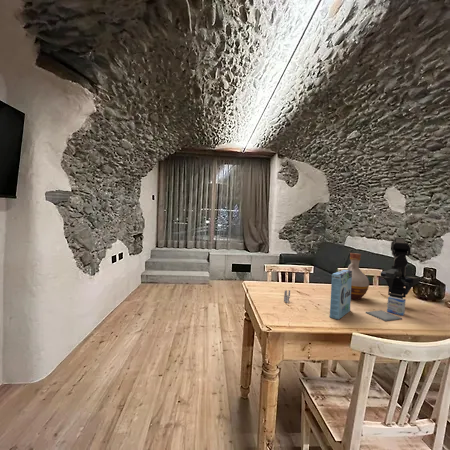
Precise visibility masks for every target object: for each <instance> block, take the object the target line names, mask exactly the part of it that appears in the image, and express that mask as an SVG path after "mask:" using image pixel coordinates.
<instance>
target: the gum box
mask: <svg viewBox="0 0 450 450" xmlns="http://www.w3.org/2000/svg"><path fill="white" fill-rule="evenodd" d="M351 282H352V271H349V270H347V269H342V270H340V271H336V272H334V273H331V285H330V286H331V287H330V289H331V290H330V303H329V305H330V306H329V307H330V308H329V318H331V319H335V320H340V319H342V317H344V316H345V315H347V314H348V313H349V312H351V304H352V303H351V301H352V299H351Z"/></svg>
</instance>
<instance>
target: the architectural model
mask: <svg viewBox="0 0 450 450" xmlns="http://www.w3.org/2000/svg"><path fill="white" fill-rule="evenodd" d="M283 293H284V296H283V302H285V304H286V303H290V299H291V290H284V292H283Z"/></svg>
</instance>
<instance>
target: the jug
mask: <svg viewBox="0 0 450 450" xmlns="http://www.w3.org/2000/svg"><path fill="white" fill-rule="evenodd" d="M349 254H350V256H349V260H350V264H348V267H347V269H346V270H349V271H352V282H351V301H352V300H354V301H359V300H361V299H362V298H363V297H364V296H365V295H366V294H367V293H368V290H369V286H370V281H369V278H368V276H367V275H366V274H365V273H364V272H363V271H362V270H361V268H360V261H361V260H362V258H361V257H362V253H355V252H349Z"/></svg>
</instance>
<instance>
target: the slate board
mask: <svg viewBox="0 0 450 450" xmlns="http://www.w3.org/2000/svg"><path fill="white" fill-rule="evenodd" d="M365 314H367V315H370V316H371V317H374V318H377V319H379V320H381V321H384V322H390V321H399V319H401V320H402V319H403V318H402V317H400V316H399V315H396V314H393V313H389V312H387V311H385V310H381V309H380V310H373V311H365Z"/></svg>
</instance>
